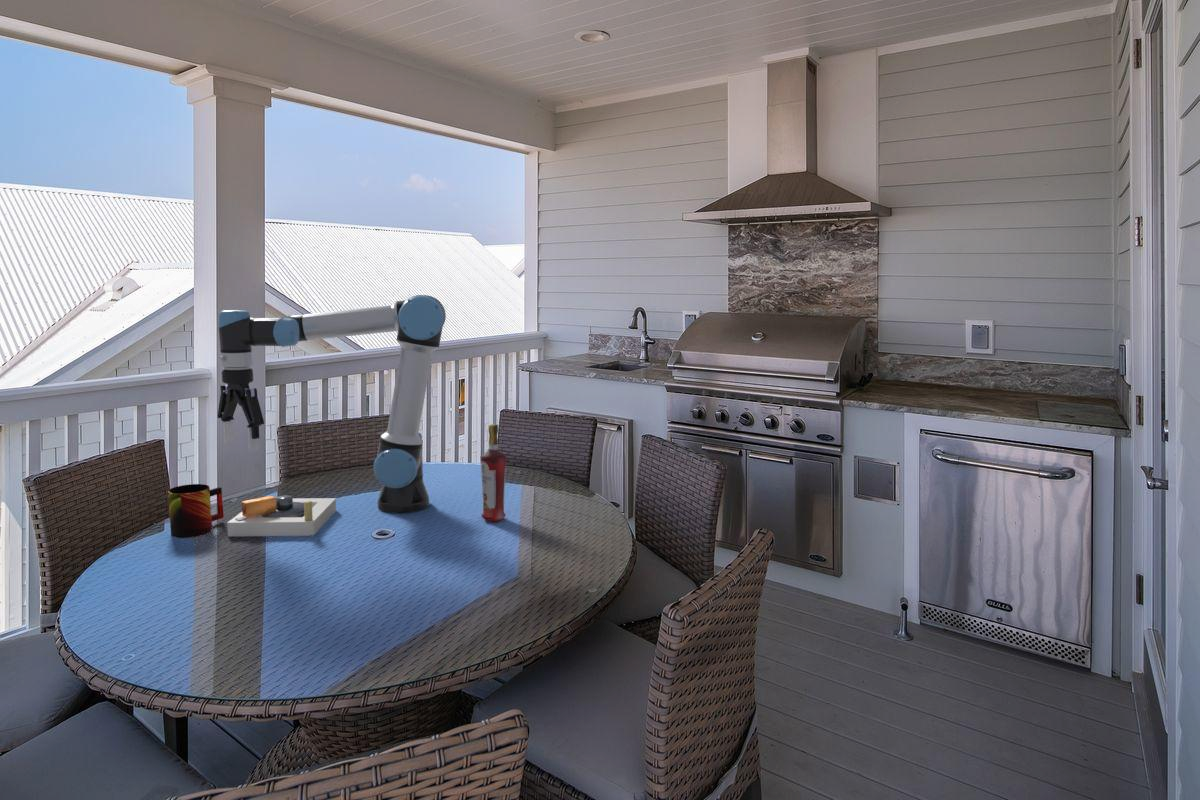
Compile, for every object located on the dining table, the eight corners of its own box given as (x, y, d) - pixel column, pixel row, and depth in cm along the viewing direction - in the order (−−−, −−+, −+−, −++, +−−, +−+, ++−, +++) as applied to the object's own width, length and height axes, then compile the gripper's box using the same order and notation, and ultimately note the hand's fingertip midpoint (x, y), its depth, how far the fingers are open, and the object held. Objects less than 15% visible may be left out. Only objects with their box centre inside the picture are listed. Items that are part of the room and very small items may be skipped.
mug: (224, 521, 202) (222, 479, 200) (203, 537, 188) (200, 493, 186) (188, 521, 201) (185, 480, 199) (164, 538, 187) (160, 494, 185)
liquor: (475, 519, 207) (475, 424, 203) (495, 514, 213) (495, 421, 208) (491, 525, 202) (491, 428, 198) (511, 520, 208) (511, 425, 203)
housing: (336, 510, 213) (335, 481, 212) (313, 535, 191) (312, 503, 190) (259, 511, 211) (258, 482, 210) (228, 536, 189) (226, 504, 188)
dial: (295, 505, 209) (294, 486, 208) (316, 514, 202) (315, 494, 201) (235, 519, 196) (233, 498, 195) (255, 529, 189) (254, 507, 188)
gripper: (200, 365, 196) (205, 443, 199) (248, 372, 183) (253, 455, 186) (227, 363, 202) (231, 439, 205) (275, 370, 189) (279, 450, 192)
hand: (242, 447), depth 196 cm, fingers open, 11 cm apart
